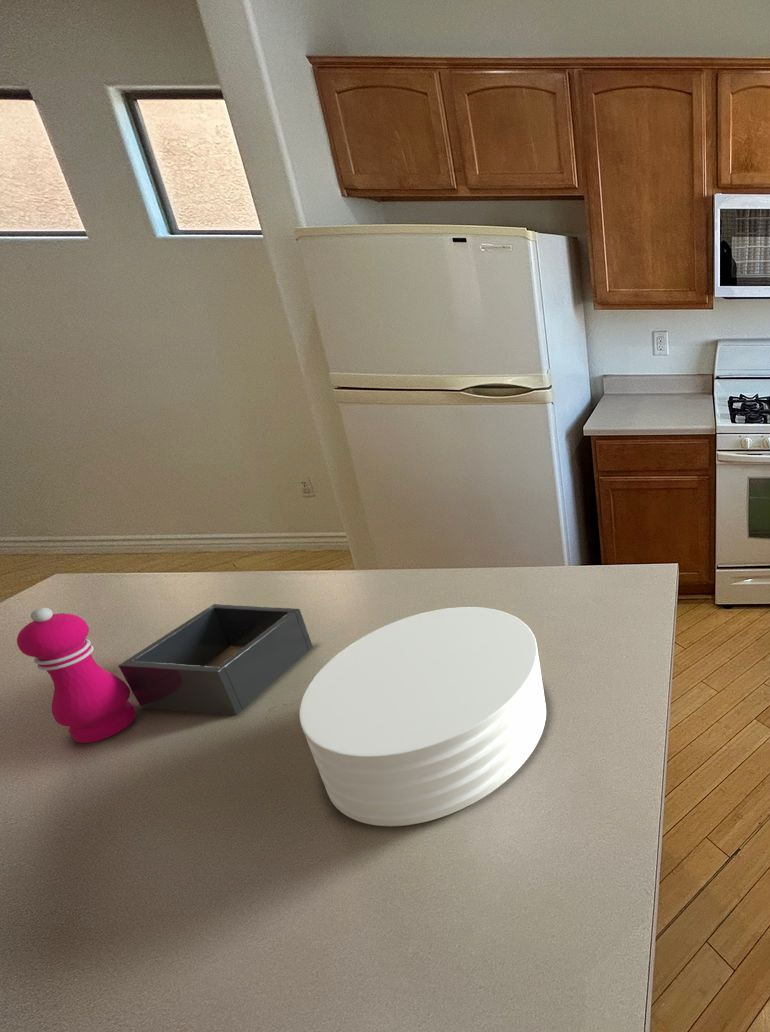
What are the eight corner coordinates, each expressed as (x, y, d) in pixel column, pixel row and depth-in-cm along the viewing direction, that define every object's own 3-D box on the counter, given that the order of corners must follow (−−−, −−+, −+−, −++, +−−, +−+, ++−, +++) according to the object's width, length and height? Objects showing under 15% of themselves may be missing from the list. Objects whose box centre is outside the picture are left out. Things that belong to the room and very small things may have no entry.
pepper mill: (64, 755, 74) (-14, 634, 65) (73, 723, 78) (1, 607, 70) (140, 728, 78) (75, 611, 70) (143, 699, 83) (83, 586, 75)
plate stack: (273, 779, 71) (244, 712, 66) (446, 647, 95) (433, 591, 90) (438, 863, 61) (417, 791, 57) (584, 692, 85) (577, 632, 81)
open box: (140, 708, 81) (117, 665, 78) (230, 642, 95) (214, 603, 92) (236, 714, 80) (217, 672, 77) (313, 647, 94) (299, 608, 91)
